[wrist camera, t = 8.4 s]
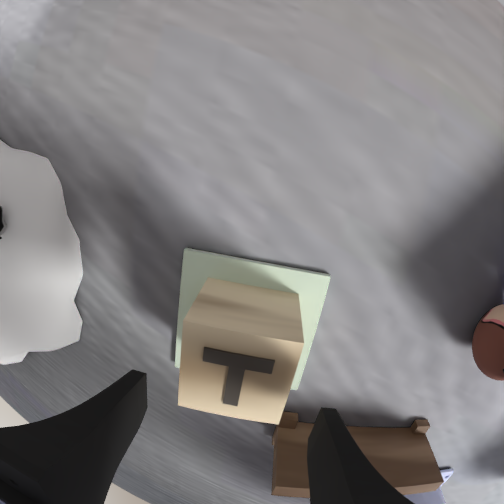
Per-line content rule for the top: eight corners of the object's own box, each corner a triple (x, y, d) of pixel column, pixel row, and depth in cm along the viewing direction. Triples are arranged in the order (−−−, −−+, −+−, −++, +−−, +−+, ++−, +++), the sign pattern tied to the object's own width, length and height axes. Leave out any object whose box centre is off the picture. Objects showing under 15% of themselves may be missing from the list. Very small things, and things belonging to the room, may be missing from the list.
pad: (296, 386, 20) (296, 390, 19) (176, 363, 20) (174, 366, 20) (329, 274, 17) (330, 276, 17) (186, 247, 18) (183, 249, 17)
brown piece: (411, 443, 21) (429, 497, 15) (272, 437, 21) (268, 501, 16) (427, 419, 20) (450, 474, 14) (281, 411, 21) (279, 478, 15)
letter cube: (279, 366, 19) (278, 426, 14) (199, 351, 19) (177, 406, 14) (298, 293, 18) (304, 344, 13) (208, 277, 18) (182, 321, 13)
